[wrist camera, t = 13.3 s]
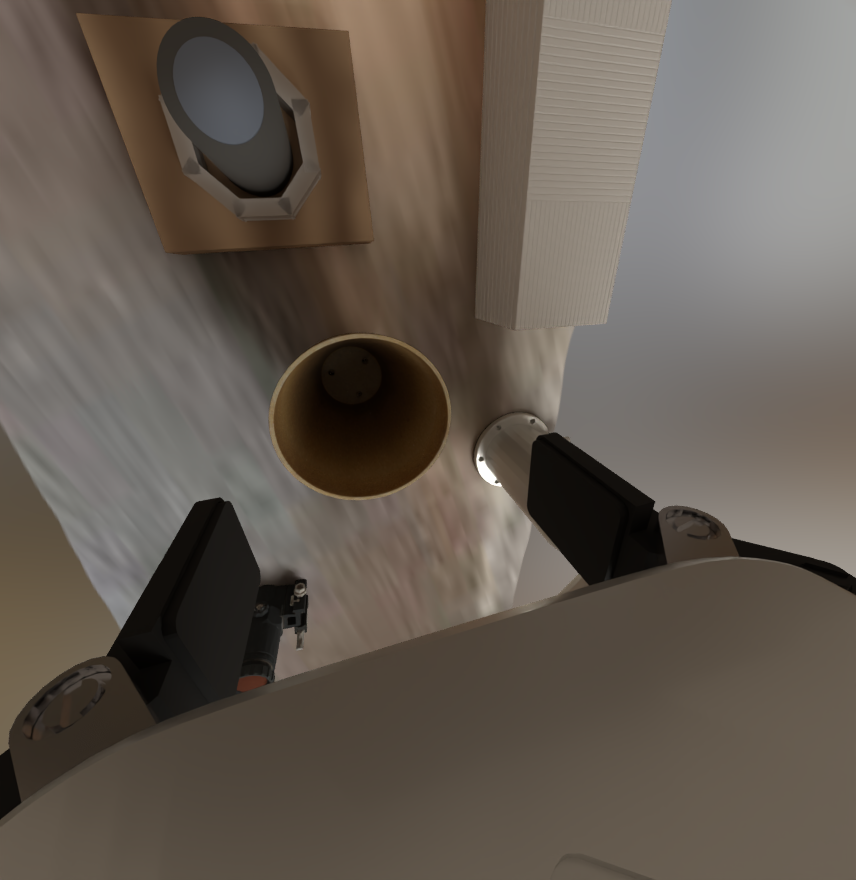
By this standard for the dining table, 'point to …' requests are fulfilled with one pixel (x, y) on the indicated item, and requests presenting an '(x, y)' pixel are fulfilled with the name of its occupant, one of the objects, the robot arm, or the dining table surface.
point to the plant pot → (359, 416)
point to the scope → (272, 631)
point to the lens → (225, 103)
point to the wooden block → (200, 182)
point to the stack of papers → (560, 153)
